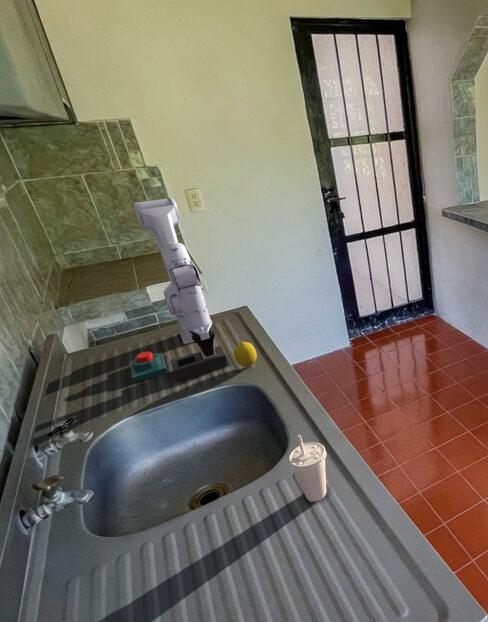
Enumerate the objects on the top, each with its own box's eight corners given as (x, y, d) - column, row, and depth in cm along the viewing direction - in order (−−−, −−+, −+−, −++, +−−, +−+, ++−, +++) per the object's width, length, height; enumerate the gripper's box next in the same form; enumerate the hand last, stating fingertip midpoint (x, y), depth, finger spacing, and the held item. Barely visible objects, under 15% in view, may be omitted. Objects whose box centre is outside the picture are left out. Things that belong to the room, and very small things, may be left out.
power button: (138, 359, 128) (135, 354, 127) (152, 355, 130) (150, 350, 129) (138, 364, 125) (136, 359, 124) (153, 360, 127) (151, 355, 126)
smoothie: (296, 487, 87) (282, 429, 81) (330, 476, 89) (318, 419, 83) (300, 512, 81) (284, 452, 75) (336, 500, 84) (324, 440, 78)
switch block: (131, 366, 131) (127, 355, 129) (163, 357, 135) (160, 347, 133) (133, 383, 123) (129, 372, 121) (167, 372, 127) (163, 362, 125)
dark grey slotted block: (173, 370, 128) (170, 360, 126) (223, 355, 134) (220, 345, 133) (177, 382, 122) (173, 371, 121) (228, 365, 129) (225, 355, 127)
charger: (202, 357, 129) (195, 336, 126) (215, 354, 131) (209, 332, 128) (204, 362, 127) (197, 340, 124) (217, 358, 128) (211, 337, 125)
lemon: (262, 361, 130) (256, 337, 127) (253, 372, 125) (246, 347, 122) (244, 361, 131) (238, 337, 127) (234, 371, 126) (227, 346, 122)
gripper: (174, 304, 126) (188, 347, 131) (181, 322, 115) (196, 367, 121) (202, 297, 129) (215, 339, 135) (211, 314, 118) (225, 359, 124)
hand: (208, 352), depth 128 cm, fingers closed on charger, 3 cm apart
